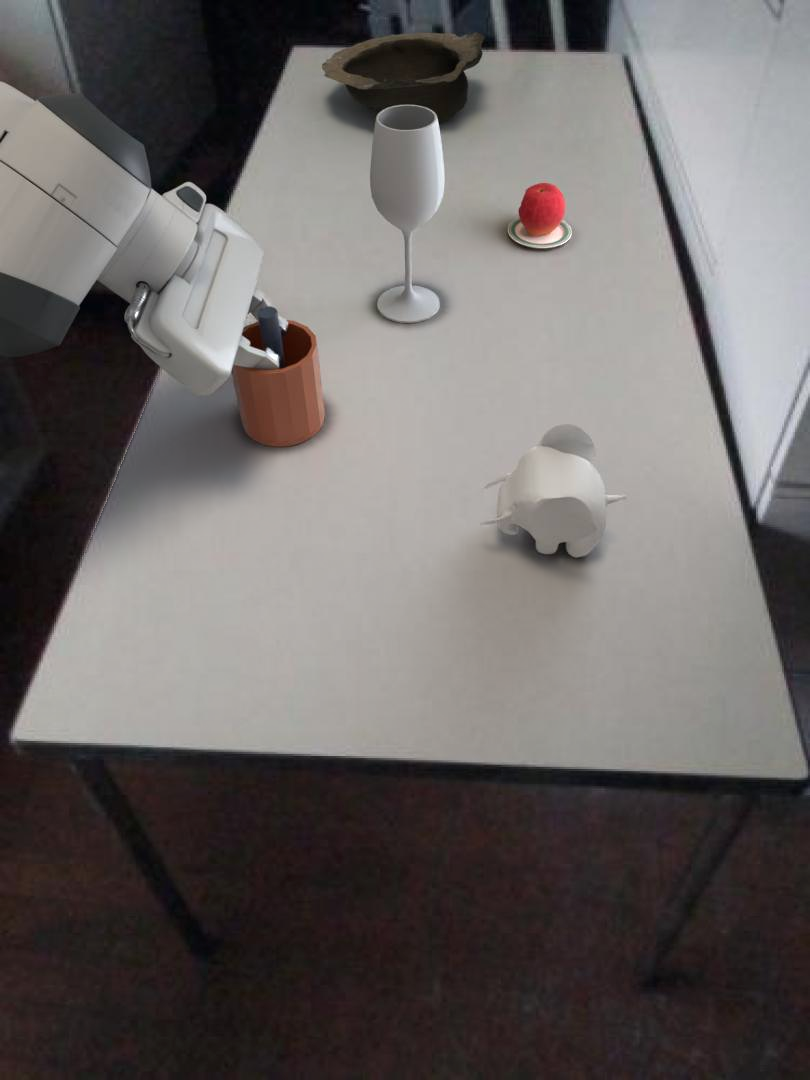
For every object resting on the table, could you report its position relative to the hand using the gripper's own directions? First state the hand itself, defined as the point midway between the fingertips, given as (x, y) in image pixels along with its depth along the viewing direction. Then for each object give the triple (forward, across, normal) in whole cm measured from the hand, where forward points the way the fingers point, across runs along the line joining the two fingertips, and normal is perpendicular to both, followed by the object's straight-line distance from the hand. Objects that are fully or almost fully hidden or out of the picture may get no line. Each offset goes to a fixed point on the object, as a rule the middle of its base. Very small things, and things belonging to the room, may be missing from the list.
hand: (279, 351), depth 79 cm
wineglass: (+14, +20, -2) cm, 25 cm away
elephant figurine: (+24, -14, -12) cm, 30 cm away
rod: (+5, 0, +6) cm, 8 cm away
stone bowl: (+12, +74, 0) cm, 75 cm away
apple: (+25, +36, -13) cm, 46 cm away
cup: (+6, 0, +6) cm, 8 cm away
